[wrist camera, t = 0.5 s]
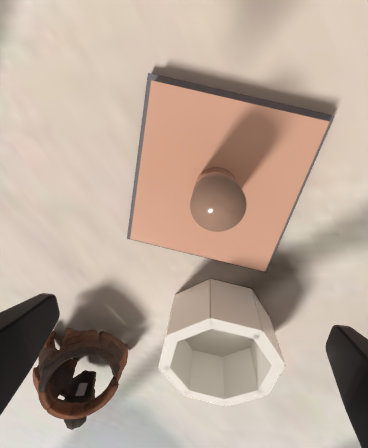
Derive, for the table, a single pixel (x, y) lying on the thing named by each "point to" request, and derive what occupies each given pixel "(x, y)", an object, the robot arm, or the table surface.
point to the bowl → (220, 345)
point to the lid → (220, 174)
